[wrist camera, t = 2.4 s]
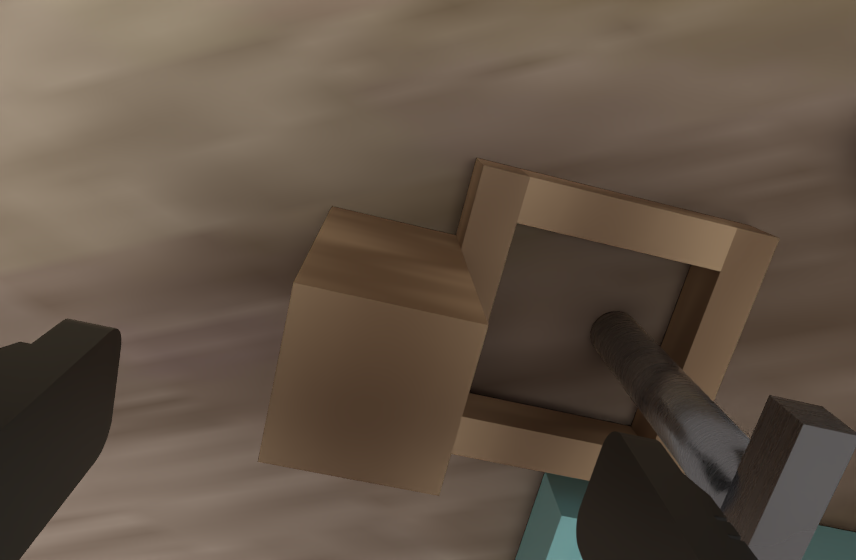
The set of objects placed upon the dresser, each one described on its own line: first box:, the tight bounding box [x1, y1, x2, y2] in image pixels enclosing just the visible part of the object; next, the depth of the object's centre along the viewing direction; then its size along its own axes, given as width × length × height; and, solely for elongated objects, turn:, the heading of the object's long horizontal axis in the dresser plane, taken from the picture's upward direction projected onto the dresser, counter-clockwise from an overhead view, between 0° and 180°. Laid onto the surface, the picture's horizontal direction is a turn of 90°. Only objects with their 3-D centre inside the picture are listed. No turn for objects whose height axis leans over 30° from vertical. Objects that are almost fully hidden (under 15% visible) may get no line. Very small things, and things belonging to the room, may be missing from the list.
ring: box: [258, 158, 780, 496], centre depth 16 cm, size 12×8×7 cm
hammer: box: [591, 312, 856, 560], centre depth 15 cm, size 1×4×9 cm, turn 166°
